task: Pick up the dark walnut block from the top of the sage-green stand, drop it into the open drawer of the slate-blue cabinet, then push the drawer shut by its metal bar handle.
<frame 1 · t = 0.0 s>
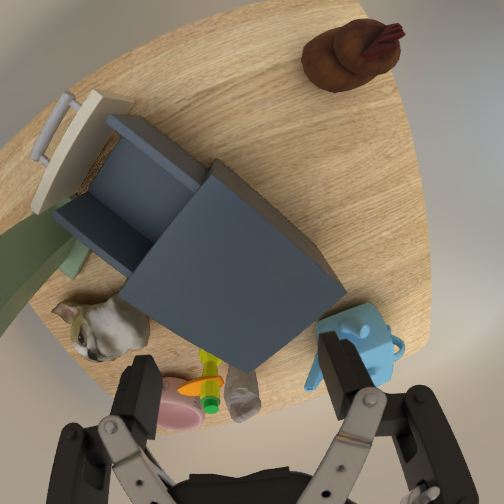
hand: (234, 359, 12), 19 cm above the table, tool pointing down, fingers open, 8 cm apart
fossil: (237, 365, 39), on the table
mug: (171, 389, 41), on the table
drawer: (112, 174, 22), point 5 cm above the table, slide at 10.0 cm
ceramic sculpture: (110, 313, 34), on the table
stand: (64, 227, 28), on the table
toy figure: (206, 335, 36), on the table
cabinet: (230, 246, 31), on the table
wooden figurine: (325, 67, 23), on the table
teapot: (339, 329, 38), on the table
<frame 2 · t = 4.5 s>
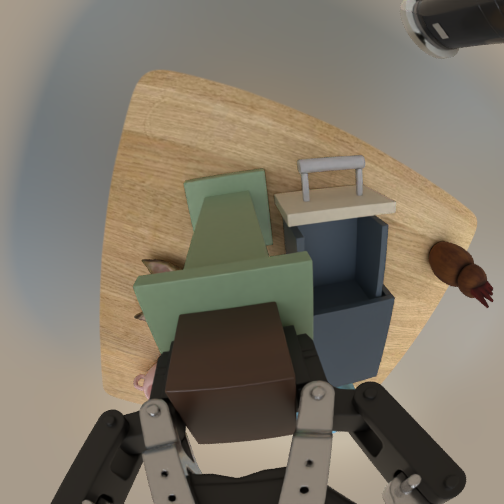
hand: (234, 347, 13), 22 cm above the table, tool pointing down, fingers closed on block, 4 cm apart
mug: (170, 369, 45), on the table
drawer: (333, 236, 31), point 5 cm above the table, slide at 10.0 cm
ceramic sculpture: (192, 294, 38), on the table
stand: (229, 210, 33), on the table
cabinet: (321, 309, 41), on the table
wooden figurine: (437, 252, 39), on the table
block: (234, 343, 13), point 22 cm above the table, touching gripper, stand
when the fingers open (8 cm above the table, at t = 11.3 s): block drops 6 cm, resting on drawer.
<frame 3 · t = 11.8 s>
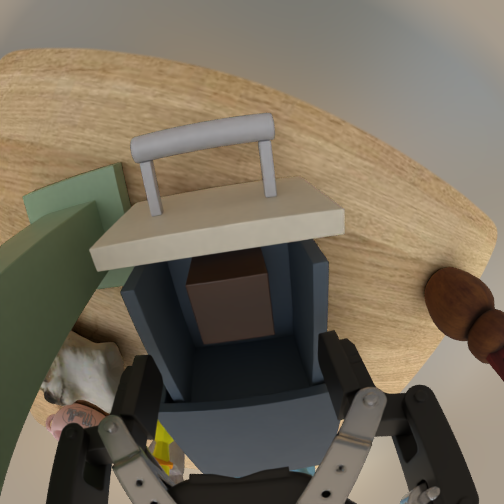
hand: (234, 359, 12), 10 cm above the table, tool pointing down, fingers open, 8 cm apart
fossil: (165, 430, 33), on the table
mug: (84, 412, 31), on the table
drawer: (227, 276, 17), point 5 cm above the table, slide at 10.0 cm, touching block
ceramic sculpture: (75, 338, 24), on the table
stand: (86, 230, 19), on the table
toy figure: (161, 405, 30), on the table
cabinet: (251, 368, 27), on the table
wooden figurine: (438, 282, 25), on the table
block: (231, 273, 20), point 2 cm above the table, touching drawer
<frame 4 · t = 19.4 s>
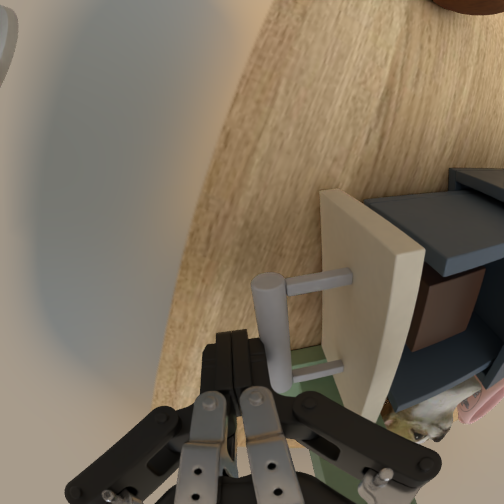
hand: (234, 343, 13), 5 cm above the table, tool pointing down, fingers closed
mug: (469, 382, 30), on the table
drawer: (417, 301, 13), point 5 cm above the table, slide at 9.1 cm, touching block, gripper
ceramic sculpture: (408, 386, 26), on the table
stand: (323, 377, 23), on the table
cabinet: (492, 236, 18), on the table
block: (412, 271, 16), point 2 cm above the table, touching drawer
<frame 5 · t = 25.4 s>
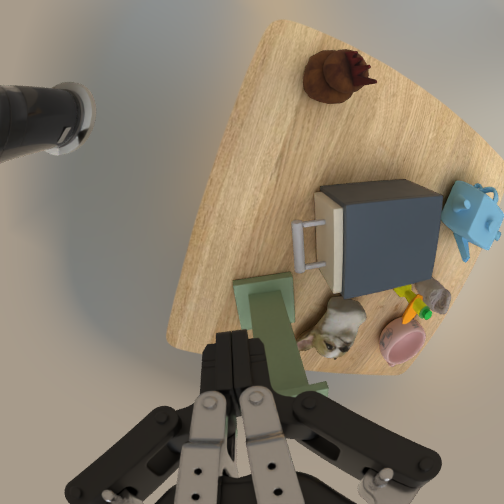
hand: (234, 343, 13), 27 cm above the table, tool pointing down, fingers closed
fossil: (418, 281, 47), on the table
mug: (392, 332, 52), on the table
drawer: (355, 236, 36), point 5 cm above the table, slide at 0.0 cm, touching block
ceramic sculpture: (328, 319, 49), on the table
stand: (264, 299, 45), on the table
toy figure: (390, 280, 46), on the table
cabinet: (365, 221, 41), on the table
wooden figurine: (318, 82, 32), on the table
teapot: (454, 209, 41), on the table
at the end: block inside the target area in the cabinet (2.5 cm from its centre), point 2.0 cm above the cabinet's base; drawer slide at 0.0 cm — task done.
